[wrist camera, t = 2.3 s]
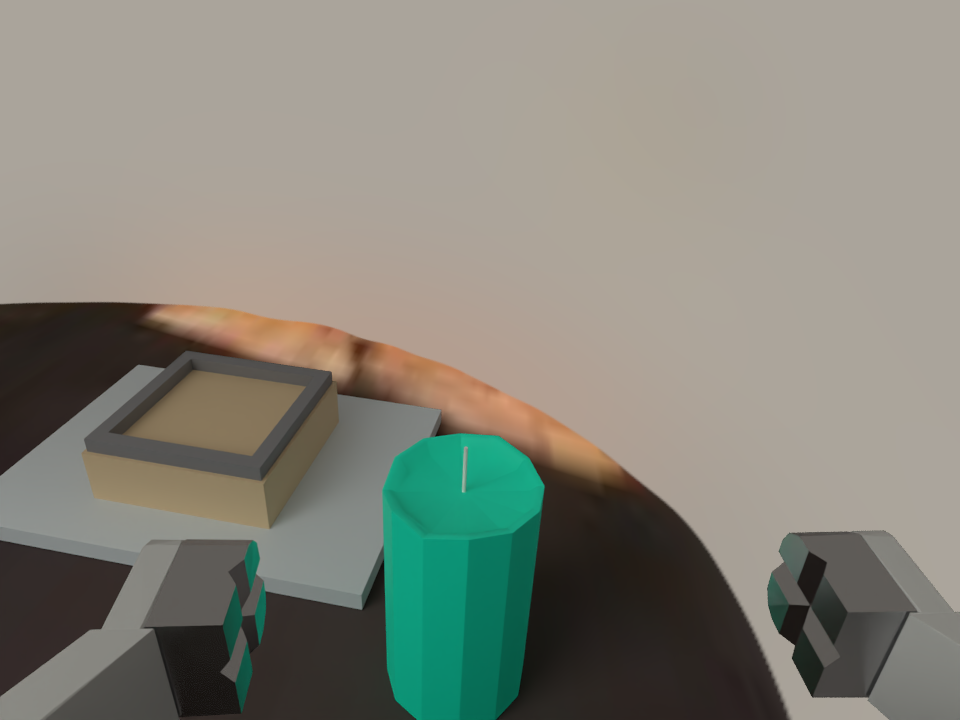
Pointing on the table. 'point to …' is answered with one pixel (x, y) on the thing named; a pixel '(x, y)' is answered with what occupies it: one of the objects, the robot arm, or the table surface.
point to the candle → (459, 574)
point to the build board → (221, 472)
